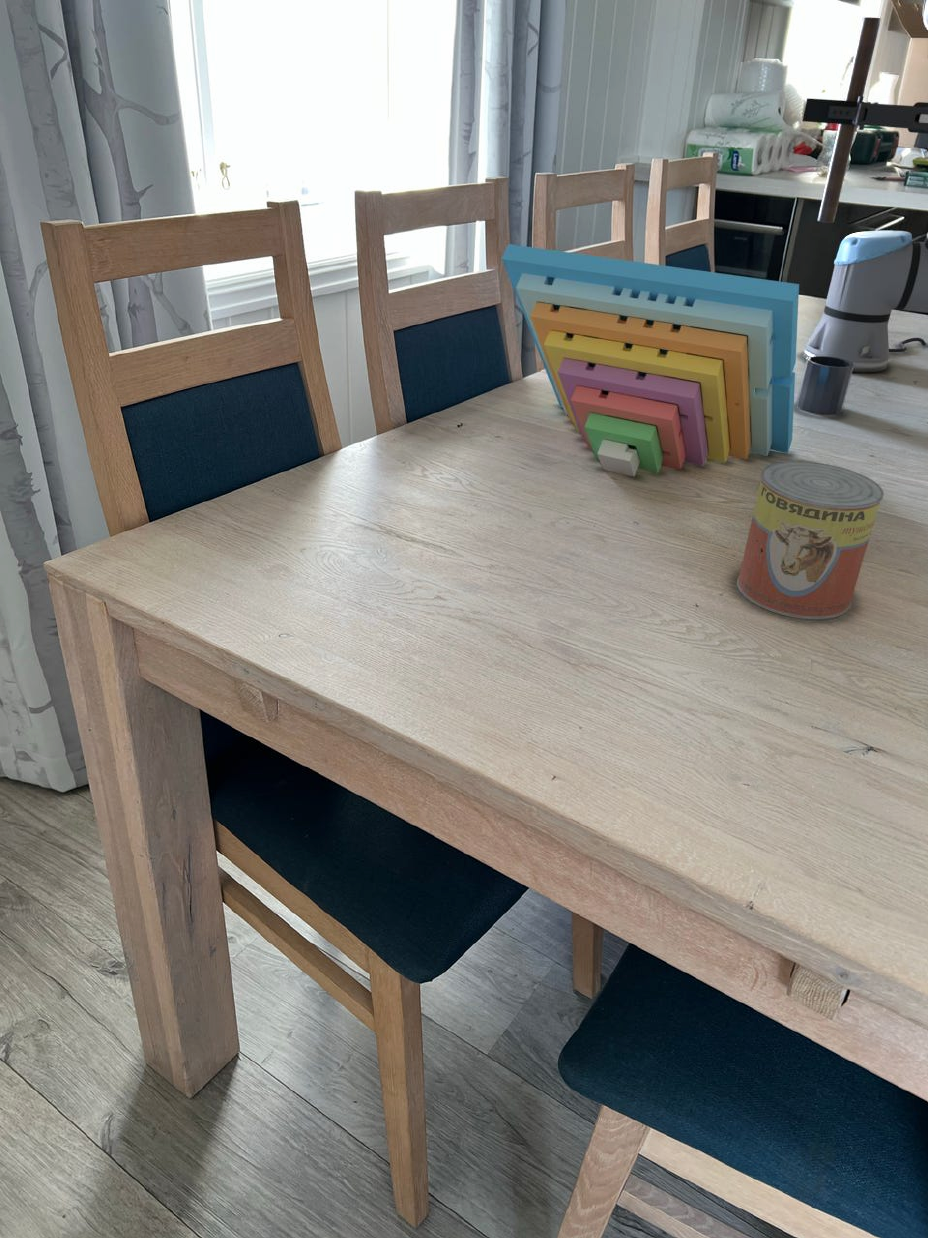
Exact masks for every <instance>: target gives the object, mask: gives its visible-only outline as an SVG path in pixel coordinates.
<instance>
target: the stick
mask: <svg viewBox="0 0 928 1238" xmlns="http://www.w3.org/2000/svg"><path fill="white" fill-rule="evenodd" d="M881 20H882V18H880V17H868V16H867V17H866V16H865V17H862V19H861V24H860V28H859V33H858V37H857V41H856V46H855V52H854V55H853V59H852V64H851V69H850V73H849V77H848V82H847V87H846V91H845V95H844V100H843V101H858V97H859V96H863V97H864V95H865V89H866V85H867V82H868V77H869V72H870V68H871V64H872V59H873V55H874V51H875V46H876V42H877V38H878V34H879V29H880V25H881ZM856 128H857V125H855V124H854V125H846V124H838V127H837V131H836V135H835V141H834V145H833V149H832V153H831V158H830V163H829V168H828V171H827V172H828V173H827V177H826V181H825V186H824V190H823V195H822V198H821V203H820V207H819V212H818V216H817V222H819V223H827V224H828V223H831V224H832V223H835V219H836V215H837V210H838V206H839V202H840V197H841V193H842V188H843V184H844V180H845V177H846V171H847V167H848V163H849V160H850V154H851V150H852V146H853V141H854V137H855V133H856V130H857V129H856Z"/></svg>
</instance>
